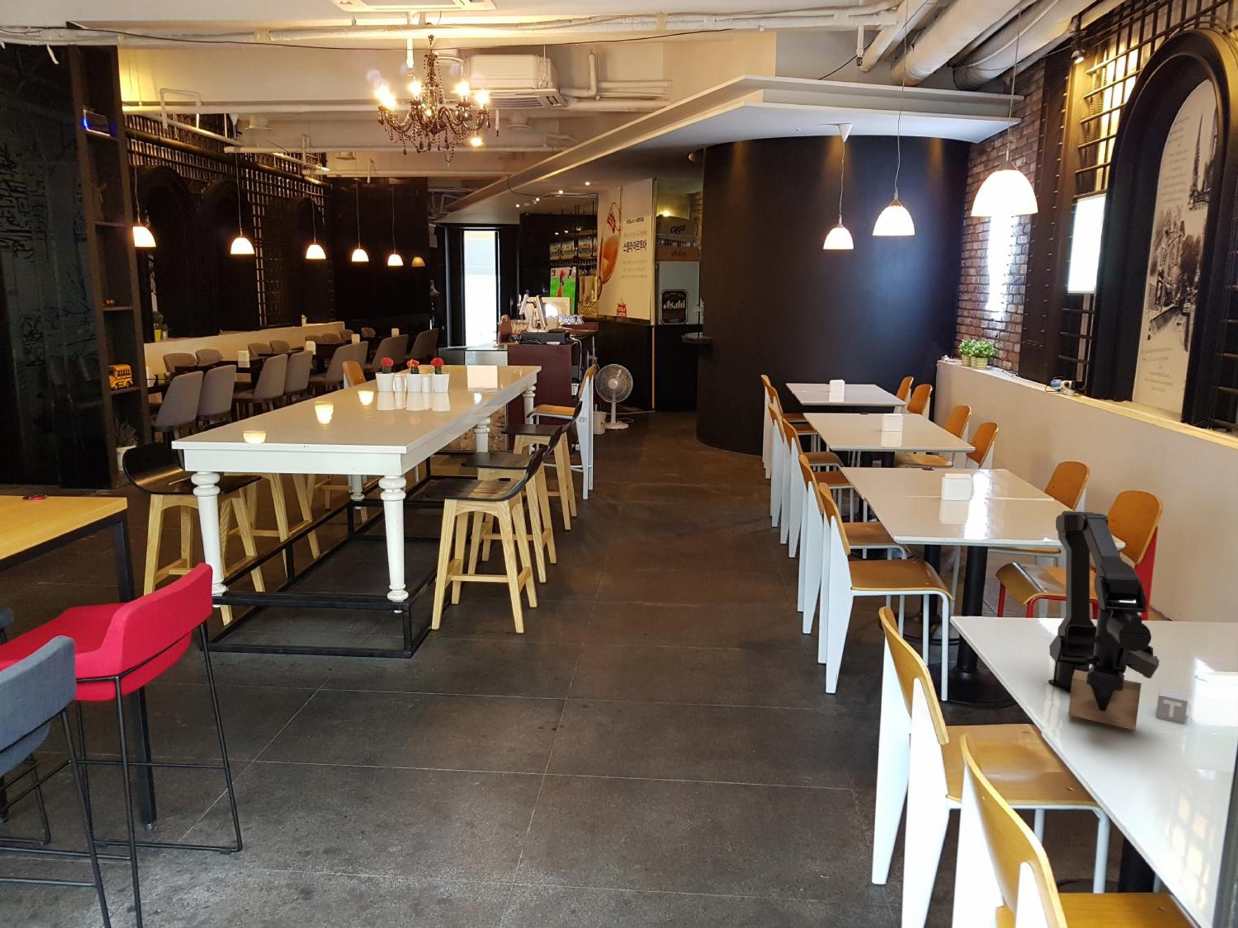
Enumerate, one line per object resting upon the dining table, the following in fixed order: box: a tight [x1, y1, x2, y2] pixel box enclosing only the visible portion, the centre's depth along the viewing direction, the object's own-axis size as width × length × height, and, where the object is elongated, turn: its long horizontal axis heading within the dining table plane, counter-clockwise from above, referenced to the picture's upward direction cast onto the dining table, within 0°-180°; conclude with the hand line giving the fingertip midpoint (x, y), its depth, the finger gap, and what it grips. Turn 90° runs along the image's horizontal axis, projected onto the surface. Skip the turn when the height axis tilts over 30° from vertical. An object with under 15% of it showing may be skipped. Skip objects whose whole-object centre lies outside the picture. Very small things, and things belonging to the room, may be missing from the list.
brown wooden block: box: [1067, 670, 1142, 731], centre depth 183 cm, size 12×5×8 cm, turn 58°
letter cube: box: [1155, 686, 1189, 724], centre depth 188 cm, size 5×5×5 cm
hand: (1103, 705), depth 183 cm, fingers closed on brown wooden block, 5 cm apart
